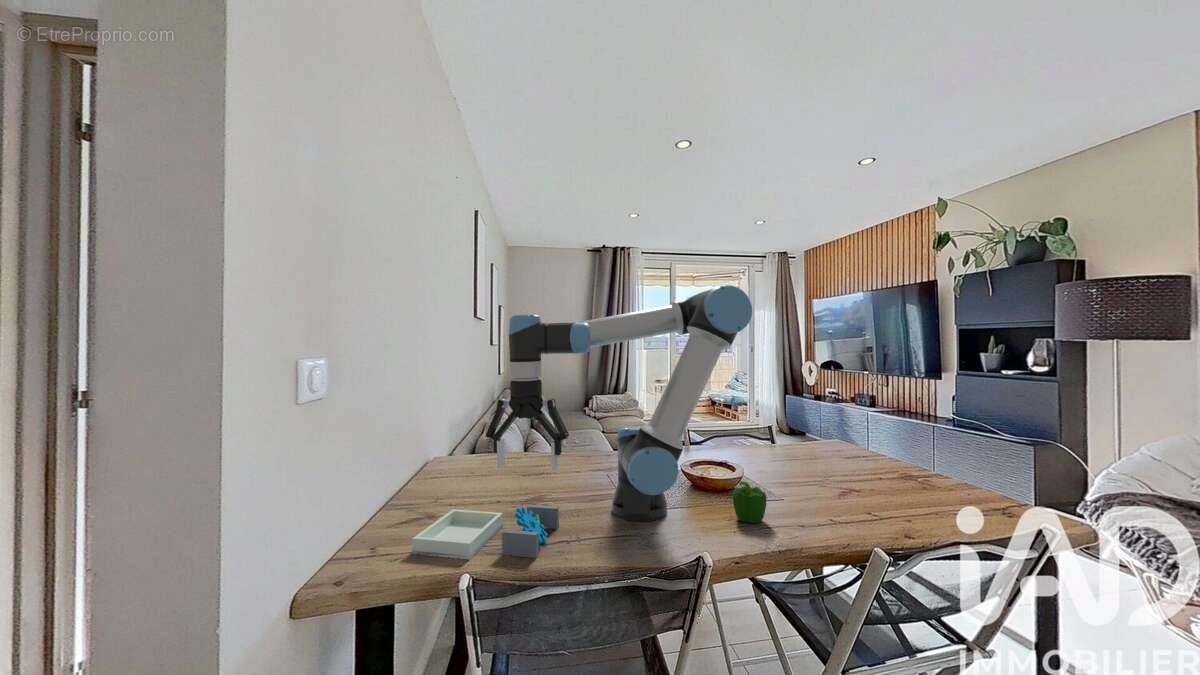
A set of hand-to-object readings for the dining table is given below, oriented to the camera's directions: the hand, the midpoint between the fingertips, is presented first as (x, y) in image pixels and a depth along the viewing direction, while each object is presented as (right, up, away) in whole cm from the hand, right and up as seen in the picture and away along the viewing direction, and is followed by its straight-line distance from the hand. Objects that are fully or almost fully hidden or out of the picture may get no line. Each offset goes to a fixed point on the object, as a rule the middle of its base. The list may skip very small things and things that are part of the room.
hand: (527, 467), depth 105 cm
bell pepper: (+57, -17, +9) cm, 60 cm away
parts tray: (-16, -17, 0) cm, 23 cm away
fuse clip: (+1, -17, -1) cm, 17 cm away
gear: (+1, -17, -1) cm, 17 cm away
